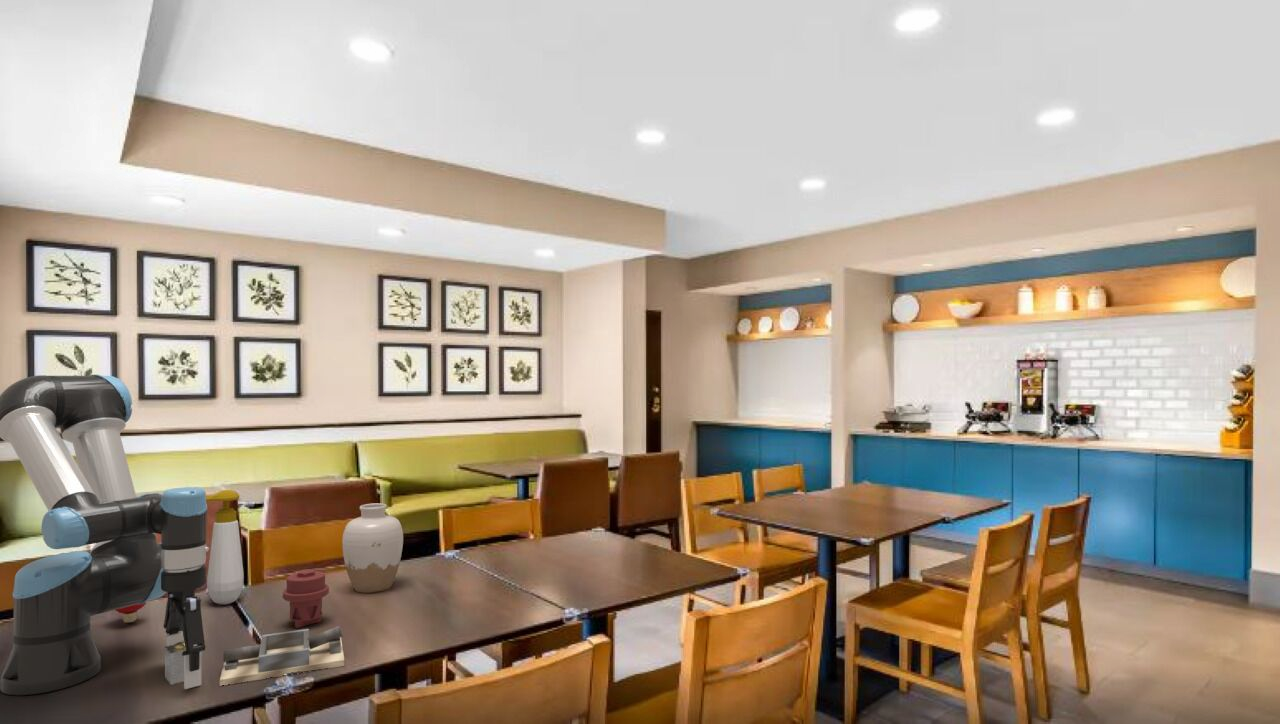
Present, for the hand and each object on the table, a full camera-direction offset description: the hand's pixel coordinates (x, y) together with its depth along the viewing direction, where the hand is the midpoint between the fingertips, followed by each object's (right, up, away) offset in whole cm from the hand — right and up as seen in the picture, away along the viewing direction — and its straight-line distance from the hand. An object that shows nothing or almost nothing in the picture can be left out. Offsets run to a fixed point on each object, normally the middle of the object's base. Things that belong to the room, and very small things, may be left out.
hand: (183, 676), depth 141 cm
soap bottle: (-20, -1, +46) cm, 50 cm away
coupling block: (0, 0, 0) cm, 0 cm away
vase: (+15, -1, +58) cm, 60 cm away
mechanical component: (+10, -1, +30) cm, 32 cm away
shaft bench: (+16, 0, +7) cm, 18 cm away
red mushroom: (-32, -1, +30) cm, 44 cm away
